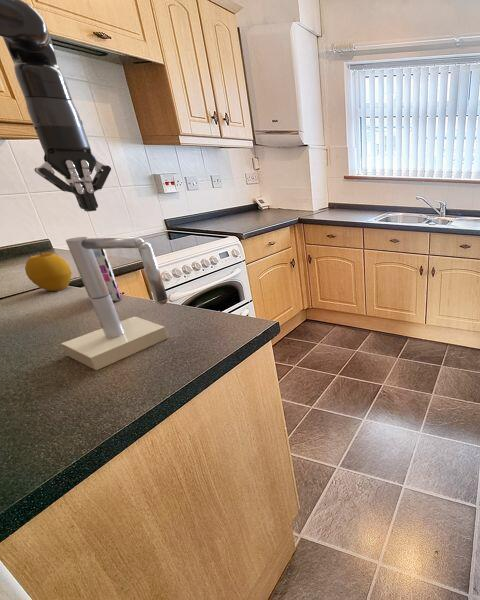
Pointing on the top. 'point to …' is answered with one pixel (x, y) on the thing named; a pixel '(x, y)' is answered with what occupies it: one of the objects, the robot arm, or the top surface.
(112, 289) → the candy bar box
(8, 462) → the top surface
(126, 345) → the tap stand
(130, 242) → the spout
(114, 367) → the top surface
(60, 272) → the yellow fruit
